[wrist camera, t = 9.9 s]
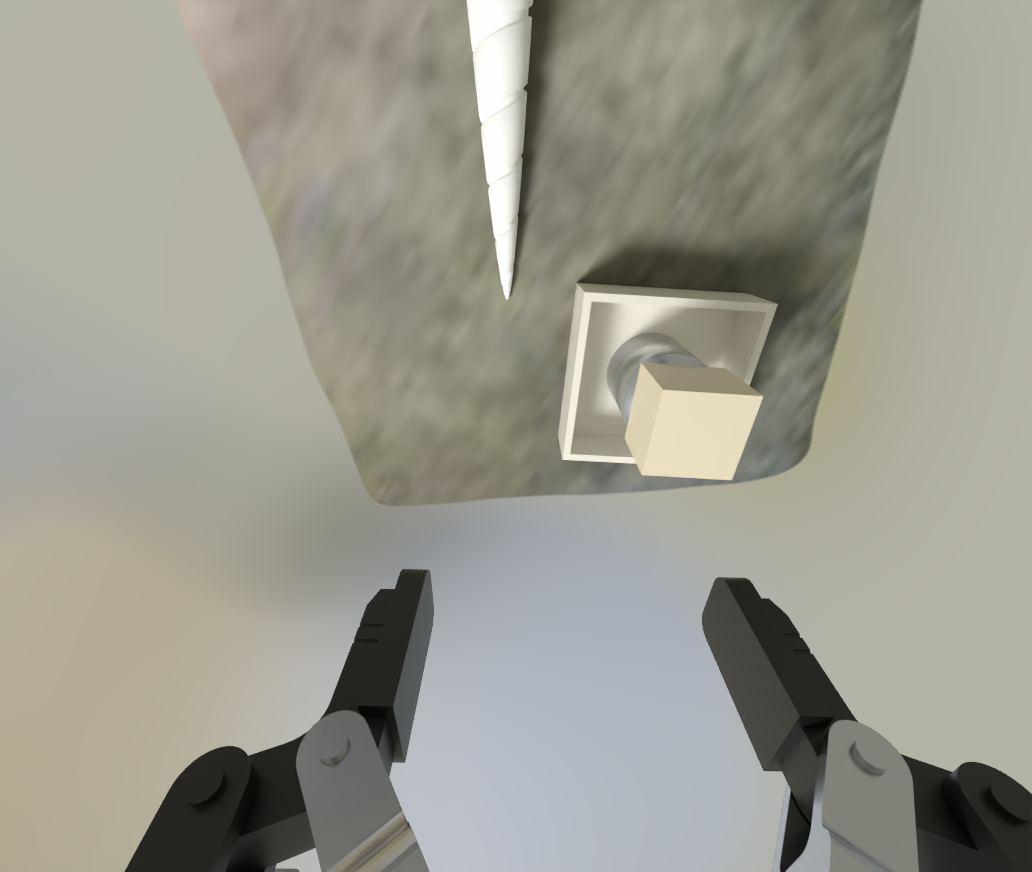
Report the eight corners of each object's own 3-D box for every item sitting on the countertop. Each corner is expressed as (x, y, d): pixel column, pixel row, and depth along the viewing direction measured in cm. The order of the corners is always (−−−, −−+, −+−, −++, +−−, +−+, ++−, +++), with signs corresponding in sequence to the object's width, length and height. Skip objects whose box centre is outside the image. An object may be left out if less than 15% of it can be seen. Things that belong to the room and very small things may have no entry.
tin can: (614, 330, 35) (634, 355, 28) (696, 335, 35) (734, 362, 29) (600, 406, 38) (616, 444, 32) (676, 411, 38) (706, 449, 32)
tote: (576, 282, 33) (584, 292, 29) (747, 293, 34) (778, 304, 30) (558, 435, 40) (562, 459, 36) (701, 442, 40) (720, 467, 36)
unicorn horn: (461, 296, 34) (454, 308, 30) (456, -148, 23) (443, -230, 19) (519, 299, 34) (519, 311, 30) (541, -141, 23) (547, -221, 19)
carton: (641, 362, 29) (663, 389, 24) (726, 368, 29) (763, 396, 24) (624, 438, 32) (641, 474, 27) (702, 442, 32) (731, 480, 27)
